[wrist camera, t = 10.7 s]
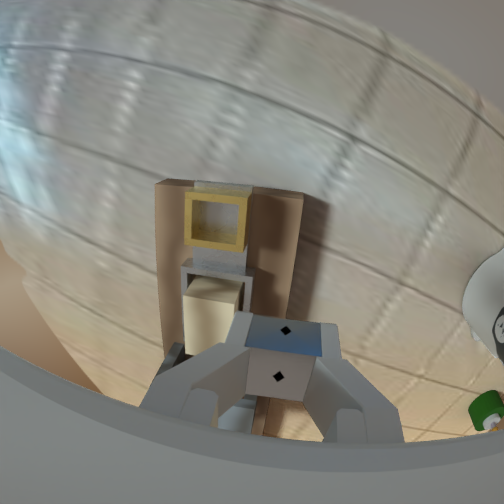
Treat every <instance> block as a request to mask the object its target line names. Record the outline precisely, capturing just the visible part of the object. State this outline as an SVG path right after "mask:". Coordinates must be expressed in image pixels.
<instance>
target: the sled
mask: <svg viewBox="0 0 504 504" xmlns="http://www.w3.org/2000/svg"><path fill="white" fill-rule="evenodd" d="M253 189H254V186H250V185H241V184H232V183H222V182H211V181H199V180H197V181H195V182H194V187H192V188H190V189H189V190H187V191H185V224H184V245H189V246H193V259H192V258H187V259H186V260H185V262H184V263H183V264H182V265H181V298H182V323H183V341H185V335H184V312H183V295H184V293H185V292H186V290H187V289H188V287H189V286H190V284H191V283H192V281H193V274H196V275H202V276H209V277H215V278H221V279H228V280H234V281H241V282H245V292H244V304H243V311H244V312H250V313H251V309H252V299H253V290H254V280H255V270H256V268H253V267H247V257H248V246H249V234H250V223H251V212H252V200H253Z"/></svg>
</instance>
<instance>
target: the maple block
mask: <svg viewBox="0 0 504 504" xmlns="http://www.w3.org/2000/svg"><path fill="white" fill-rule="evenodd" d="M242 294H243V282H241V281H234V280H228V279H221V278H215V277H209V276H202V275H196V277H195V278H194V280H193V281H192V283H191V284H190V286H189V287H188V289H187V290H186V292H185V293H184V295H183V312H184V335H185V353H186V354H190V355H194V356H195V355H197V354H199V353H201V352H203V351H205V350H206V349H208V348H210V347H212V346H214V345H215V344H217V343H219V342H221V343H225V340H226V337H227V334H228V332H229V329H230V326H231V323H232V320H233V318H234V315H235V312H236V311H237V310H238V311H241V306H242Z"/></svg>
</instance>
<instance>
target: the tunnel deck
mask: <svg viewBox="0 0 504 504" xmlns="http://www.w3.org/2000/svg"><path fill="white" fill-rule="evenodd" d="M194 182H195V181H193V180H180V179H166V180H163V181H161V182H159V183H156V184H155V236H156V261H157V280H158V294H159V307H160V319H161V329H162V339H163V348H164V357H165V359H164V361H163V363H162V365H161V367H160V368H159V370H158V372H157V374H156V376H157V375H159V374H161V373H163V372H165V371H167V370H169V369H171V368H173V367H175V366H177V365H178V364H180V363H182V362H184V361H186V360H188V359H190V358H192V357H193V356H194V355H190V354H186V353H185V341H183V323H182V298H181V265H182V264H183V263H184V262H185V260H186V259H187V258H192V259H193V246H189V245H184V224H185V191H187V190H189V189H190V188H192V187H194ZM303 200H304V198H303V193H302V192H295V191H287V190H279V189H271V188H263V187H254V189H253V200H252V212H251V223H250V234H249V246H248V257H247V267H253V268H256V270H255V280H254V290H253V299H252V309H251V313H253V314H254V313H256V314H262V315H268V316H274V317H280V318H285V317H286V311H287V305H288V299H289V293H290V287H291V281H292V275H293V269H294V262H295V256H296V249H297V243H298V236H299V229H300V222H301V215H302V208H303ZM195 277H196V274H193V280H194V278H195ZM244 292H245V282H243V294H242V306H241V311H243V304H244ZM156 376H155V377H156ZM154 379H155V378H154ZM154 379H153V381H154ZM153 381H152V382H153ZM151 384H152V383H151ZM150 386H151V385H150ZM269 401H270V397H266V396H258V395H250V394H245V396H243V397H242V398H241V399H240V400H239V401H238V402H237V403H236V404H234V405H233V406H232V407H231V408H230V409H229V410H227V411H226V412H225V413H224V414H223V415H222V416H220V417H219V418H218V428H220V429H225V430H231V431H236V432H242V433H248V434H254V435H261V436H262V433H263V429H264V424H265V420H266V415H267V410H268V405H269Z"/></svg>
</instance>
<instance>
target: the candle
mask: <svg viewBox="0 0 504 504" xmlns="http://www.w3.org/2000/svg"><path fill="white" fill-rule="evenodd" d="M468 411H469V414H470V417H471V419H472V422H473V425H474V427H475V430H477V431H483V430H488V429H491V428H492V431H497V430H498V427H496V425H497V424H498V422H499V421H500V419H501V418H502V417H503V416H504V404H503V402H502V400H501V398H500V396H499V394H498V392H497V391H496V390H490V391H487V392H485V393H483V394H481V395H480V396H479V397H477V398H476V399H475V400H474V401H473V402H472V403H471V405H470V406H469V409H468Z"/></svg>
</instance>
